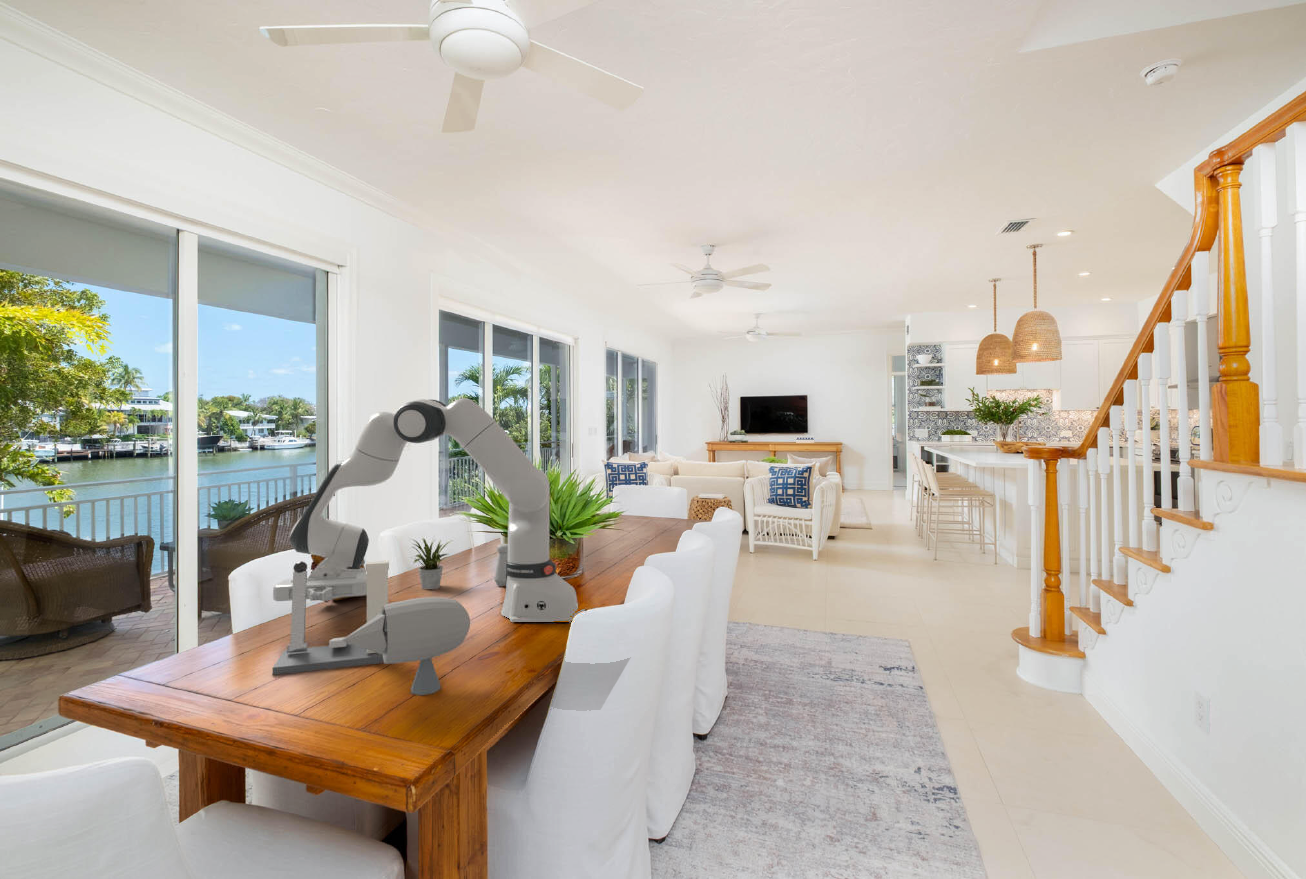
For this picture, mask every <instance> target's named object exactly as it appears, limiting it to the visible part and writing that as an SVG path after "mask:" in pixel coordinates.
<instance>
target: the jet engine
mask: <svg viewBox="0 0 1306 879" xmlns="http://www.w3.org/2000/svg"><path fill="white" fill-rule="evenodd" d="M470 627H471V618H470V615H469V612H468V611H467V610H466V608H465V607H464V606H463V604H462V603H461V602H459V601H458V600H456V599H452V598H448V597H437V596H430V597H429V596H427V597H425V596H423V597H417V598H410V599H405V600H400V601H396V602H391V603H388V604H386V605H383V607H382V611H381V614H379V615H377V616H376V617H374V618H373V619H371V620H370V621H369V622H367V621H366V623H365V624H362V625H361V626H360V627H358V628H357V629H355V631H353V632H352V633H350V634H348V635H347V636H345V637H346V638H344V639H343V640H342V641H344V642H347V643H349V644H353V645H356V646H359V647H362V648H364V649H367V650H370V651H373V652H376V653H379V654H383V660H384V663H383V664H390V665H391V664H400V663H401V664H402V663H403V664H404V663H411V662H418V661H420V662H419V665H418V667H417V670H416V673H415V676H414V679H413V681H412V685H411V687H410V694H411V695H417V696H426V695H432V694H434V693H436V692H438V691H440V690H441V682H440V680H439V678H438V675H437V672H436V668H435V666H434V663H433V660H432V659H433V658H437V657H440V656H442V655H445V654H447V653H449V652H451V651H453V650H455V649H456V648H458V647H459V646H460V645H462V644H463V642H464V640H465V639H466V637H467V635H468V633H469V631H470Z"/></svg>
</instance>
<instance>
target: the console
mask: <svg viewBox="0 0 1306 879" xmlns="http://www.w3.org/2000/svg"><path fill="white" fill-rule="evenodd" d="M376 664H377V665H378V664H385V663H384V660H383V654H379V653H367V649H364V648H362V647H359V646H356V645H353V644H350V643H349V644H348V645H347V646H345V647H335V648H329V645H320V646H311V647H310V646H309V647H308V650H307V651H305V652H295V653H287V649H284V650H283V652H282V653H281V654H280V656H279V658H278V659H277V661H276V662H275V663H274V665H273V667H272V676H276V675H283V674H284V675H285V674H294V673H295V674H296V673H302V672H313V671H323V670H330V669H338V668H348V667H351V668H352V667H358V666H367V665H376Z"/></svg>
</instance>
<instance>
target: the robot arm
mask: <svg viewBox="0 0 1306 879" xmlns="http://www.w3.org/2000/svg"><path fill="white" fill-rule="evenodd" d="M444 435H446V436H449V437H451V438H452V439H454V440H455V441H456V443H458V445H460V446H461V448H462V449H463V450H464V451H465V452H466V454H467V455H468V456H470V458H471V459H472V460H473V461H474V462H475V463H476V464H477V465H478V466H479V467H480V469H482V471H483V472H484V473H485V474H486V475H487V477H488V478H489V479H490V481H491V482H492V483H493V485H494V486H495V488H497V490H498V491H499V492H500V494H502V496H503V497H504V498H505V499H506V500H507V501H508V520H507V521H508V522H507V523H508V525H507V544H508V560H507V561H506V581H507V585H506V587H505V594H504V601H503V605H502V608H501V611H500V614H501V616H502V617H504V616H505V617H504V618H506V617H507V619H508V618H509V619H510V620H509V619H508V620H509V621H510V622H511V623H514V622H554V621H566V620H567V621H569V623H572V622H571V620H572V619H573V617H574V616H575V615H577V613H580V611H584V610H585V611H586V608H585V609H582V610H580V611H578V612H577V613H575V611H577V609H578V604H579V603H578V598H577V593H576V590H575V587H574V586H572V585H571V584H569V583H568V582H567V581H566V580H564V579H563V578H562V577H561V576H560V575H559V574H557V573H556V572H557V568H556V567H558V561H555V562H554V561H552V560H551V558H550V496H551V494H550V491H551V490H550V489H551V488H550V481H549V480H550V479H549V478H548V476H547V475H546V473H545V472H544V471H542V470H541V469H539V468H538V467H536V466H535V464H534V463H533V462H532V461H531V460H530V459H529V458H528V456H527V455H526V454H525V453H524V451H523V450H522V449H521V448H520V447H519V446H518V445H517V443H516V442H515V440H513V439H512V438H511V436H509V435H508V433H507V432H506V431H505V430H504V429H503V427H501V426H500V425H499V423H498V422H497V421H496V420H495V419H494V418H493V417H492V416H491V415H490V414H489V413H488V412H487V411H486V410H485V409H483V408H482V407H481V406H480V405H478V404H477V403H476V402H475V401H473V400H472V399H470V398H466V397H462V398H459V399H456V400H454V401H451V403H450V404H448V405H446V404H445V403H444V402H441V401H439V400H437V399H417V400H413V401H409V402H406V403H404V404H403V405H402V406H400V407H398V409H397V410H396V412H395V413H393V412H389V411H388V412H387V411H380V412H377V413H374V414H373V415H372V416H371V417H370V418H369V420H368V421H367V423H366V424H365V426H364V428H363V430H362V431H361V434H360V436H359V439H358V441H357V443H356V446H355V448H354V450H353V452H352V453H351V454H350V455H349V457H348V458H346V459H345V460H339V461H338V462H336V463H335V464H334V465H333V466H332V467H331V469H330V470H329V471H328V473H327V475H326V476H325V478H324V480H322V482H321V484H320V486H319V487H318V489H317V491H316V492H315V495H314V496H313V498H312V499H311V501H310V502H309V504H308V505H307V507H306V510H305V511H304V512H303V514H302V515H301V517H299V519H298V520H297V521H296V522H295V524H294V526H292V529H291V531H290V533H289V538H288V539H289V540H288V541H289V543H290V545H291V546H292V548H293V549H294V551H295V552H296V553H302V554H307V555H311V554H314V555H318V556H322V557H326V559H324V560H323V561H322V562H321V563H320V564H319V565H318V566H317V567H316V568H315V569H314V571H313V570H312V571H313V572H312V573H311V572H310V574H309V576H307V591H306V600H309V601H311V602H313V601H321V602H322V601H323V602H324V601H329V600H330V601H334V600H333V599H335V598H340V597H350V596H352V597H362V596H367V572H366V573H365V571H366V567H365V568H361V567H359V566H360V564H361V563H362V561H363V558H364V559H365V556H366V553H367V550H368V546H369V541H370V539H369V536H368V533H367V531H366V529H365V528H363V527H359V526H356V525H352V524H349V523H343V522H340V521H336V520H332V519H329V518H326V517H325V516H324V515H323V514H324V512H325V510H326V509H327V507H328V506H329V503H331V500H332V499H333V498H334V495H335V494H336V493H337V492H338V491H339V490H342V489H345V488H351V487H352V488H353V487H369V486H370V487H371V486H376V485H379V484H382V483H384V482H386V481H387V480H389V479H390V478H391V477H392V476H393V475H394V473H395V470H396V469H397V466H398V464H399V462H400V459H401V456H402V454H403V451H404V448H405V446H407V443H411V444H422V443H427V442H432V441H434V440H437V439H438V438H440V437H442V436H444ZM292 591H293V578H291V579H285V580H282V581H280V582H278V583H277V584H275V585H274V586H273V589H272V592H273V593H272V596H273V597H272V598H273V601H275V602H289V601H291V602H292ZM350 598H351V597H350ZM330 601H329V602H330ZM573 613H574V615H573ZM570 616H572V617H570Z"/></svg>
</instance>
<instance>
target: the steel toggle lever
mask: <svg viewBox="0 0 1306 879" xmlns="http://www.w3.org/2000/svg"><path fill="white" fill-rule="evenodd" d="M292 569H293V572H292V579H293V591H292V600H291V619H290V621H291V624H290V643H288V644H287V645H286V646H287V647H286V650H287V653H295V652H305V651H307V650H308V648H309V642H306V640H305V639H306V618H307V614H306V613H307V599H306V591H307V578H308V570H307V569H308V564H307V563H306V562H305V561H303V560H302V561H296V562H295V564H294V565H293V568H292Z"/></svg>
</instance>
